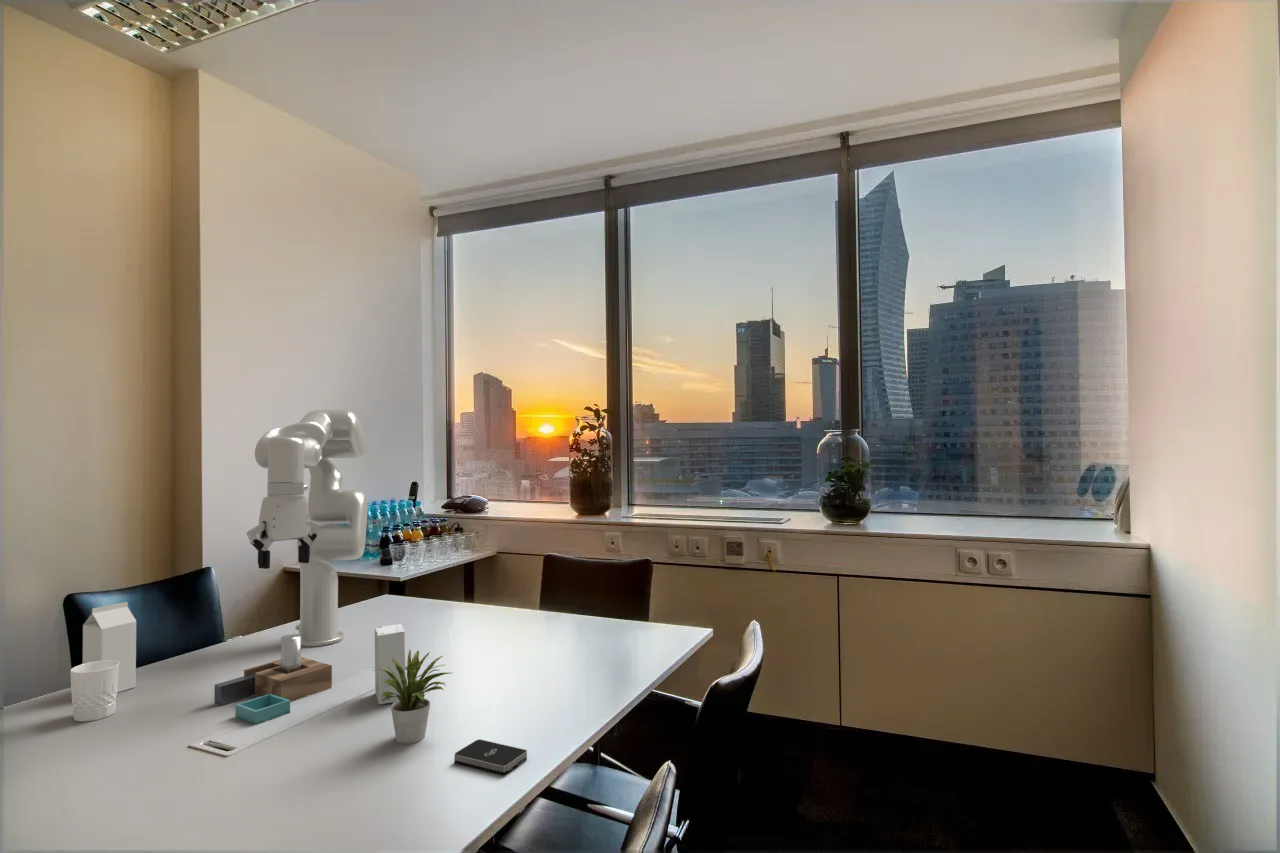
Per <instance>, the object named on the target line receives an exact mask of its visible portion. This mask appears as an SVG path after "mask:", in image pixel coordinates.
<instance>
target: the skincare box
mask: <svg viewBox="0 0 1280 853" xmlns="http://www.w3.org/2000/svg"><path fill="white" fill-rule="evenodd" d="M405 633H406V631H405V630H404V628H403V625H402V624H401V623H398V624H397V623H396V624H391V625H382V626H375V627H374V678H375V679H374V681H375V682H374V686H375V688H374V689H375V695H376V696H375V697H376V700H377V703H378V705H385V704H391V703H392V704H393V703H395V702H397V701H399V699H398V698H397V696H396V695H395V694H398V695H399V693H398V692H397V690H396V689H395V688H394V687H392V686H390V685H388V684H386V683H385V682H384V681H385V680H388V679H391V680H393V679H392V678H391V677H390V676H389V675H388V674H387V673H386V672H385V671H383V670H382V669H381V668H383V669H385V670H387V671H389V672H390V673H392V672H391V671H390V669H391V670H392V671H393V672H394V673H395V675H396V676H397V678H398V680H399V682H400V684H401V687H402V689H403V686H402V683H401V679H400V675H399V672H398V670H397V669H396V666H395V663H393V659H394V660H395V661H397V662H398V663H399V664H400V666H401V667H402V669H403V671H404V674H405V677H406V678H407V671H406V646H405V644H406V643H405V641H406V640H405V635H406V634H405ZM388 661H390V662H388ZM384 665H386V666H388V667H389V668H390V669H389V668H388V667H386V666H384ZM392 674H393V673H392ZM393 675H394V674H393ZM395 675H394V676H395ZM397 678H396V679H397ZM385 691H389V692H392V693H394V695H390V696H396V697H391V698H388V699H385V700H383V699H384V698H385V697H382V695H383V693H384V692H385ZM381 697H382V698H381ZM382 700H383V701H382Z"/></svg>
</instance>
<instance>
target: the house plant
mask: <svg viewBox="0 0 1280 853" xmlns="http://www.w3.org/2000/svg"><path fill="white" fill-rule="evenodd" d="M429 654H430V652H428V653H426V654H425V655H423V657H422V659H421V660H420V659H419V656H420V650H419V649H417V651H416V652H415V653H414V654H413V657H411V656H412V652H411V649H409V651H408V654H407V661H406V662H407V664H406V665H407V666H406V667H407V668H406V677H405V674H404V671H403V669H402V667H401V666H400V664H399V663H398V662H397V661H395V660H394V659H393V663H395V666H396V669H397V670H398V672H399V675H400V679H401V683H402V686H403V689H402V687H401V684H400V682H399V680H398V678H397V676H396V675H395V673H394V672H393V671H392V670H391V669H390V668H389V667H388V666H386V665H384V666H386V667H388V668H389V669H390V671H391V672H392V673H393V674H394V675H395V676H394V675H393V674H392V673H390V672H389V671H387V670H385V669H383V668H381V669H382V670H383V671H385V672H386V673H387V674H388V675H389V676H390V677H391V678H392V679H393V680H391V679H388V680H385V681H384V682H385V683H386V684H388V685H390V686H392V687H394V688H395V689H396V690H397V692H398V693H399V695H398V694H395V695H396V696H397V698H398V699H399V701H397V702H394V703H392V704H391V706H390V710H391V715H392V717H391V718H392V723H393V729H394V736H395V740H396V742H397V743H399V744H402V745H403V744H404V745H407V744H408V745H409V744H415V743H418V742H420V741H422V740H424V739H425V737H426V732H427V726H428V718H429V713H430V708H431V701H430V700H429V699H428V698H425V693H429V692H431V691H436V690H442V691H444V692H446V691H445V689H444V688H443V687H442V686H440V685H443V686H445V687H447V685H446V683H445V682H441V681H434V682H431V683H429V682H430V681H432V680H433V679H435V678H438V677H440V676H443V675H449V674H450V675H451V674H452V672H438V671H439V669H435V668H438V667H443V666H445V664H440V665H435V664H436V662H438V661H439V660H440V659H441V658H442V657H444V655H441V656H439V657H436V659H434V660H433V661H432V662H430V664H429V665H428V666H427V667H426V668H425V669H424V671H423V672H422V674H420V675H418V673H419V672H420V669H421V667H422V665H423V663H424V661H425V660H426V659H427V657H428V656H429ZM388 662H390V661H388ZM432 669H433V670H432ZM372 671H374V672H375V669H373V670H372ZM435 671H437V673H433V672H435ZM431 673H433V674H431ZM429 674H430V675H429ZM396 678H397V679H396ZM417 678H419V679H417ZM432 685H433V686H432ZM438 685H439V686H438ZM431 686H432V687H431ZM390 695H394V693H392V692H389V691H385V692H384V693H383V695H382V697H385V698H384V699H383V700H385V699H388V698H391V697H396V696H390ZM382 697H381V698H382ZM383 700H382V701H383Z"/></svg>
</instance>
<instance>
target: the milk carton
mask: <svg viewBox="0 0 1280 853" xmlns="http://www.w3.org/2000/svg"><path fill="white" fill-rule="evenodd" d="M103 660H115V661H118V662H119V677H118V689H117V693H120V692H124V691H127V690H130V689H134V688H135V687H136V686H137V684H136V683H137V682H136V681H137V677H136V675H137V672H136V671H137V663H136V662H137V620H136V618H135V616H134V615H133V613H132V612H131V610H130V608H129V606H128V601H124V602H120V603H114V604H109V605H104V606H99V607H94V608H91V614H90V615H89V616H88V618H87V619H86V621H85V622H84V623H83V624H82V664H85V663H89V662H95V661H103Z"/></svg>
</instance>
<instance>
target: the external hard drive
mask: <svg viewBox="0 0 1280 853" xmlns="http://www.w3.org/2000/svg"><path fill="white" fill-rule="evenodd" d="M453 756H454V759H453V760H454V763H455V764H456V765H459V766H464V767H466V768H469V769H470V768H471V769H475V770H479V771H484V772H485V773H486V772H487V773H490V774H495V775H499V776H506V775H508V774H510V773H511V772H512V771H514V770H515V769H517V768H518V767H520V766H521V765H522V764H523V763H525V762H526V761H527V760H528V750H527V749H524V748H520V747H515V746H510V745H506V744H502V743H497V742H495V741H494V742H493V741H489V740H484V739H482V738H481V739H479V738H478V739H476V740H474V741H473V742H471V743H469V744H467V745H466V746H464V747H463V748H461V749H459V750H457V751H456V752H455V753H454V755H453Z"/></svg>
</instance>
